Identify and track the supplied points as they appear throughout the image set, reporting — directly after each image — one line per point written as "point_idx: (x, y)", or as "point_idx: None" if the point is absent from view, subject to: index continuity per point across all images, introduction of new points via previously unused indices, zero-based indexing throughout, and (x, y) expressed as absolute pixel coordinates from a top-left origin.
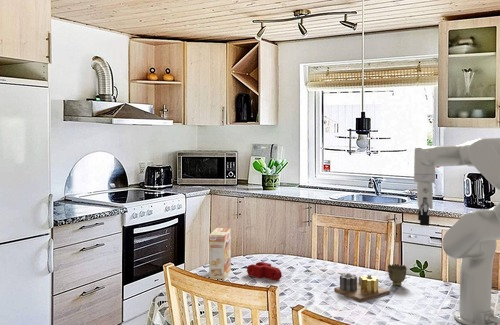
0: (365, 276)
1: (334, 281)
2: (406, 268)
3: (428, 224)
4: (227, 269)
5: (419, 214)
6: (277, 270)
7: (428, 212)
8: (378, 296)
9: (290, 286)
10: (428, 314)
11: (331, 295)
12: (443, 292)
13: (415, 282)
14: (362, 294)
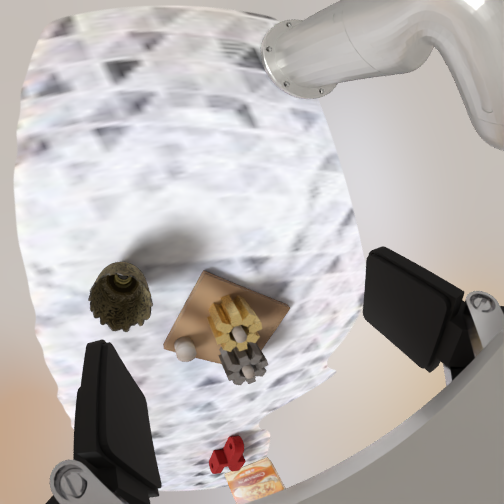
0: (232, 344)
1: (186, 388)
2: (115, 273)
3: (386, 254)
4: (253, 471)
5: (151, 446)
6: (241, 448)
7: (498, 309)
8: (239, 285)
9: (254, 414)
10: (307, 154)
11: (271, 356)
12: (115, 136)
13: (66, 234)
14: (263, 314)
